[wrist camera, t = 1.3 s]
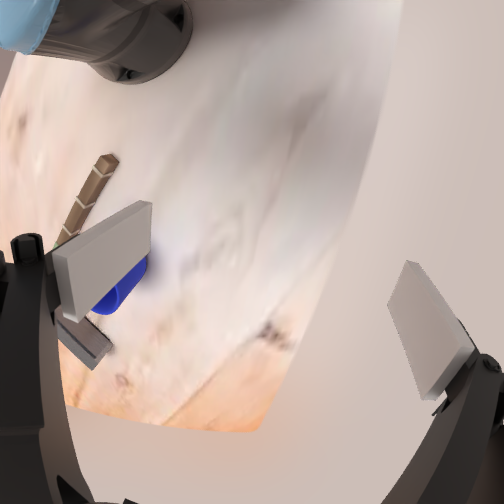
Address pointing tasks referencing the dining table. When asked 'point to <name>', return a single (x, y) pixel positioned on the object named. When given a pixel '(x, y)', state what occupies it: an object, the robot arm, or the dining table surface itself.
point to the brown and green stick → (87, 197)
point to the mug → (120, 290)
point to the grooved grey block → (82, 339)
